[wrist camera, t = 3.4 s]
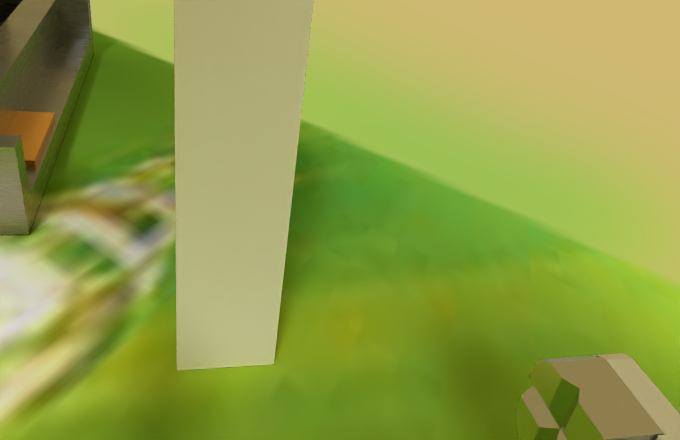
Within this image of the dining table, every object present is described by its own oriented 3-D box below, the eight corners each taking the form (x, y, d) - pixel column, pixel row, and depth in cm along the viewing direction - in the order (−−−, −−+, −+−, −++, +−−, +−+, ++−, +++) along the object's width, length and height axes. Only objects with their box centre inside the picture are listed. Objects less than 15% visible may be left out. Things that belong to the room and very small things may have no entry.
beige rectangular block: (176, 370, 19) (173, -49, 12) (176, 240, 24) (174, -91, 18) (273, 364, 19) (317, -34, 13) (252, 240, 25) (275, -79, 19)
